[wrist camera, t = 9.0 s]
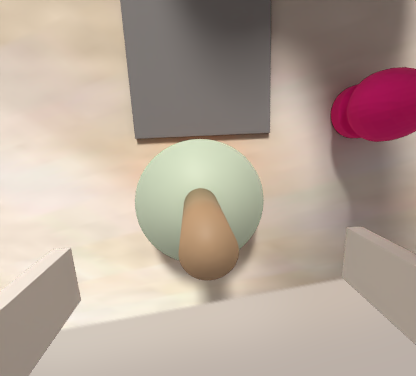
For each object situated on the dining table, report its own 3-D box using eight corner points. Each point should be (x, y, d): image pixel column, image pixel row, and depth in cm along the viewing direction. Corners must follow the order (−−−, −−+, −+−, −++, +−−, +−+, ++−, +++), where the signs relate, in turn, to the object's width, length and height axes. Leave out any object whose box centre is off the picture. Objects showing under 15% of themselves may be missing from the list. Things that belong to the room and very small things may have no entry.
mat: (119, -18, 23) (117, -23, 22) (269, -18, 24) (271, -22, 24) (136, 138, 26) (135, 138, 26) (268, 132, 27) (269, 132, 27)
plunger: (130, 142, 21) (69, 139, 11) (261, 136, 22) (327, 128, 12) (143, 264, 24) (105, 361, 13) (260, 254, 25) (314, 338, 14)
